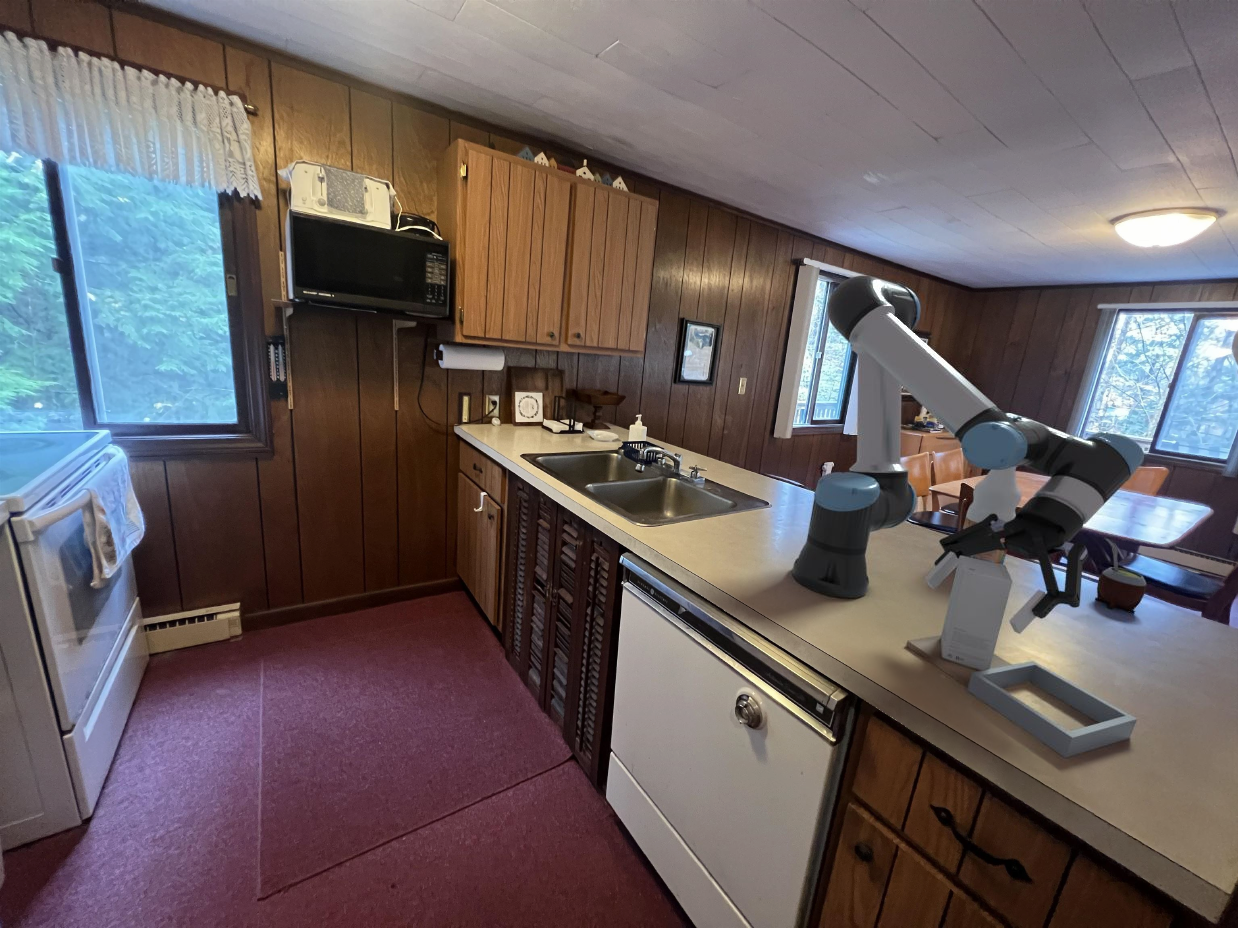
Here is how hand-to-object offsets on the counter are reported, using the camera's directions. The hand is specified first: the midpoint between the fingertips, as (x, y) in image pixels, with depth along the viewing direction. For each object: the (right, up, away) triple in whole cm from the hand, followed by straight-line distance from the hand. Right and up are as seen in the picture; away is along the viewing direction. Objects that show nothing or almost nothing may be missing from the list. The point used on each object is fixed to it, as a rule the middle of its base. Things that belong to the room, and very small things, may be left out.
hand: (968, 604), depth 77 cm
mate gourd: (+52, -9, +29) cm, 60 cm away
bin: (+5, -13, -8) cm, 16 cm away
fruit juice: (+34, -4, +44) cm, 55 cm away
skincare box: (+1, -9, +3) cm, 10 cm away
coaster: (+1, -10, +3) cm, 11 cm away
